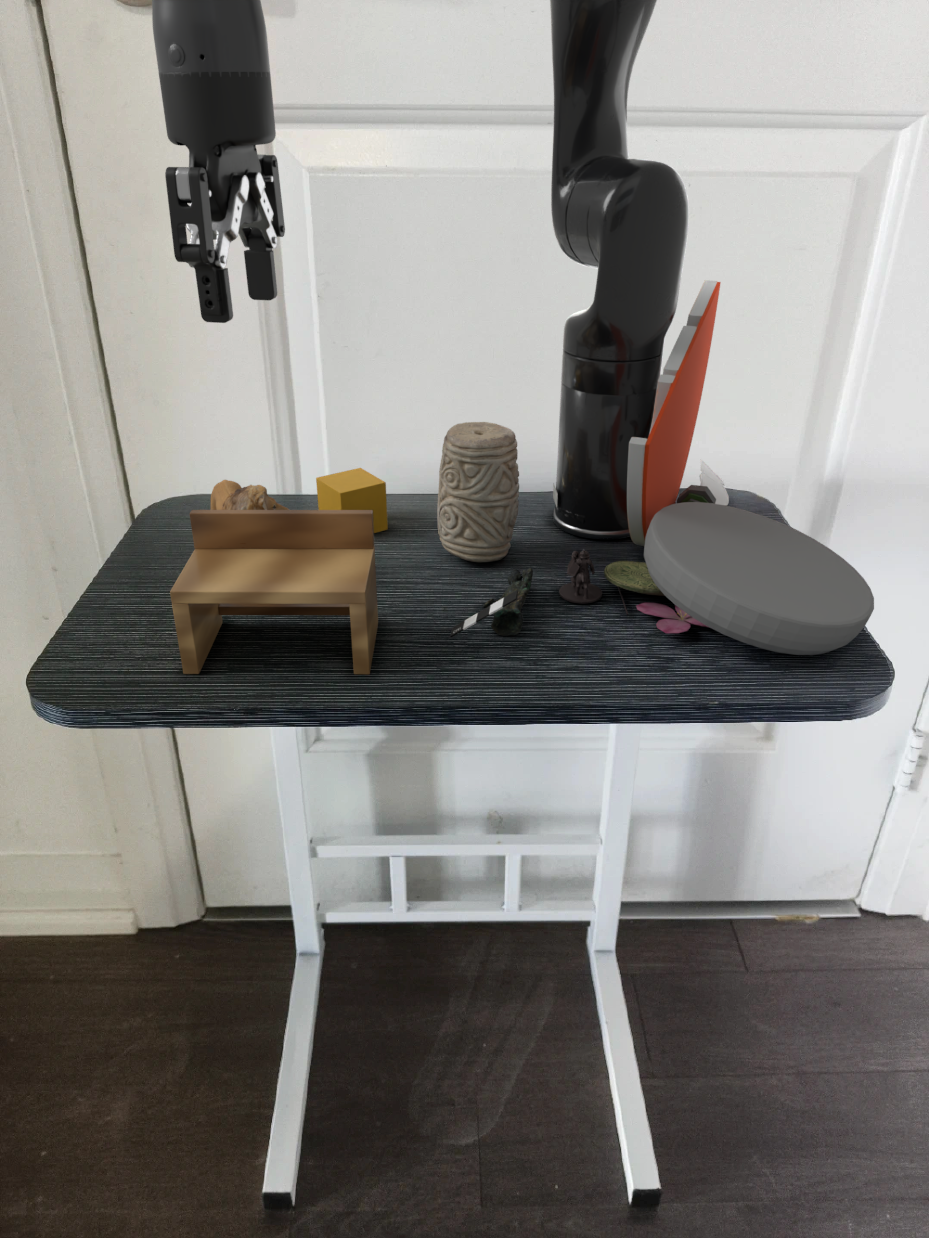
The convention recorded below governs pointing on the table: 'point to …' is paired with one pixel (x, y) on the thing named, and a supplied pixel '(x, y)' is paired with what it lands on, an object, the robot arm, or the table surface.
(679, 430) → the wall plaque
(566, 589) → the figurine
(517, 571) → the figurine
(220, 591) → the bench
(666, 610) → the flower
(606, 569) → the medallion
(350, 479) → the block
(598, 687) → the table surface
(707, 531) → the decorative stone
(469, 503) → the carving
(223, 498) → the lion figurine
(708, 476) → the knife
